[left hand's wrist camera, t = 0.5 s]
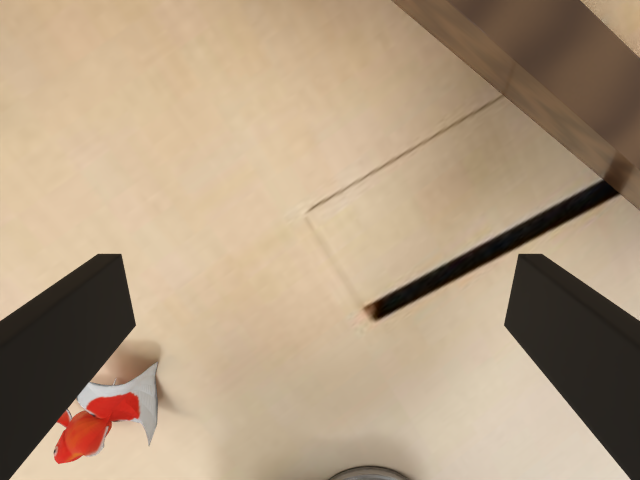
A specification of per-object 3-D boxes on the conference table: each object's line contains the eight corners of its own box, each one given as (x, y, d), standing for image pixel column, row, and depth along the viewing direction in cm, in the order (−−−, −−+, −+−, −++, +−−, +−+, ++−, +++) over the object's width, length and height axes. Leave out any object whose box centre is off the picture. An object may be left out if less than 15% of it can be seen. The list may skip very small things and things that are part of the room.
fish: (5, 400, 42) (-8, 478, 35) (132, 318, 46) (145, 372, 39) (72, 437, 49) (73, 510, 41) (178, 363, 53) (197, 417, 45)
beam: (719, 203, 39) (813, 226, 32) (676, 242, 41) (757, 273, 33) (248, -227, 28) (222, -348, 20) (214, -150, 29) (177, -236, 22)
